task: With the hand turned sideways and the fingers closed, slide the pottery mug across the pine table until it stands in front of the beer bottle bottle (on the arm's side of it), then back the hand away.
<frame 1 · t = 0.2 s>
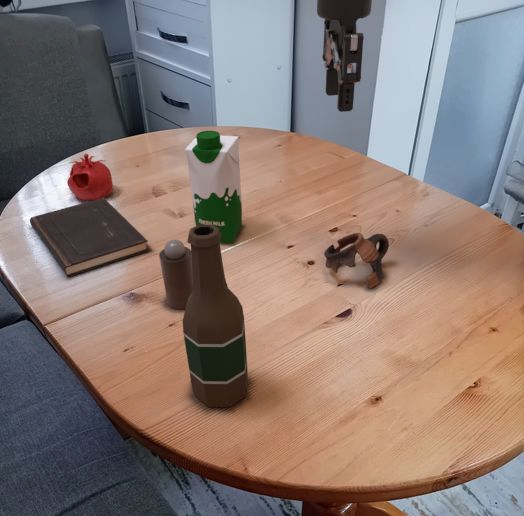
hand: (338, 102, 83), 26 cm above the table, tool pointing down, fingers open, 8 cm apart
milk carton: (220, 234, 107), on the table
pepper mill: (182, 300, 89), on the table
hardcover book: (88, 240, 106), on the table
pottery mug: (358, 273, 94), on the table
beer bottle: (221, 390, 73), on the table
pomegranate: (93, 195, 122), on the table
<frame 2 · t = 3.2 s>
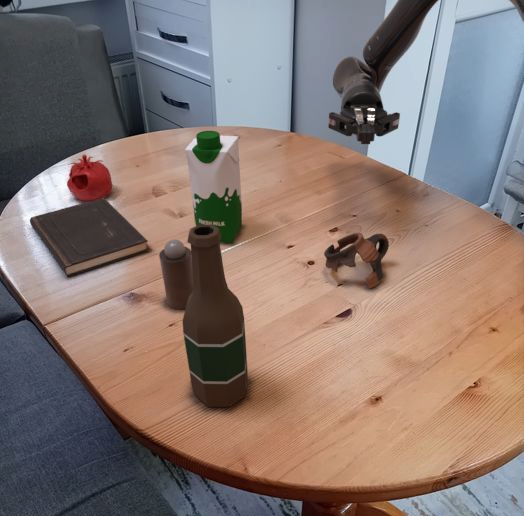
hand: (366, 138, 88), 20 cm above the table, tool horizontal, fingers closed
nothing on the table moved.
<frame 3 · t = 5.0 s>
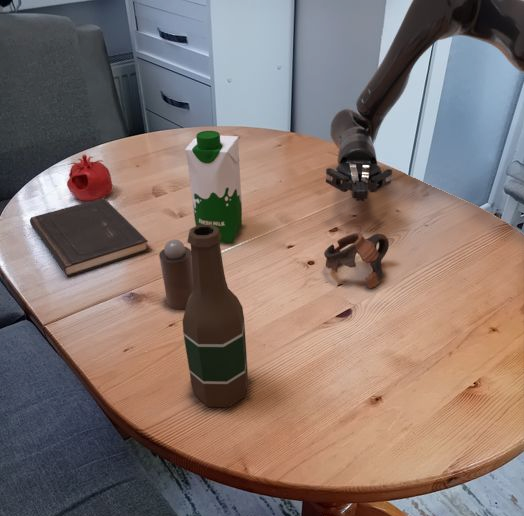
hand: (360, 196, 95), 10 cm above the table, tool horizontal, fingers closed
nothing on the table moved.
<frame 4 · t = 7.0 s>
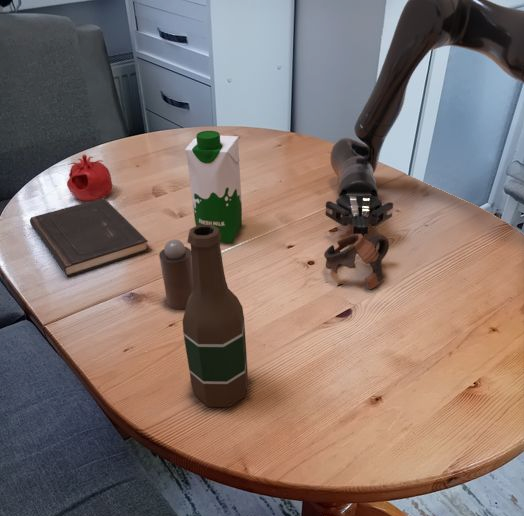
hand: (360, 231, 93), 6 cm above the table, tool horizontal, fingers closed
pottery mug: (358, 274, 94), on the table, touching gripper
everything else where it was.
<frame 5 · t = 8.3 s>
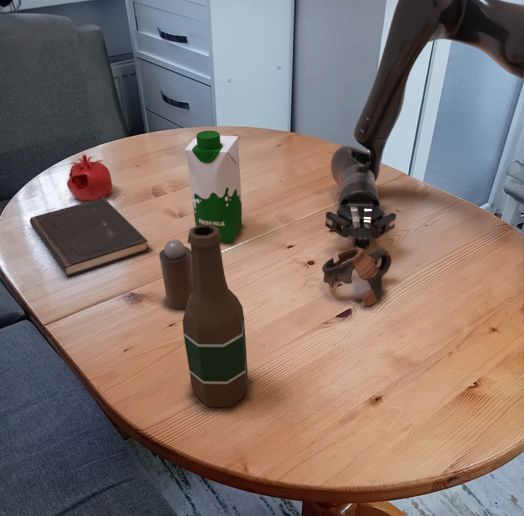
hand: (362, 244, 89), 6 cm above the table, tool horizontal, fingers closed
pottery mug: (357, 290, 91), on the table, touching gripper
everything else where it was.
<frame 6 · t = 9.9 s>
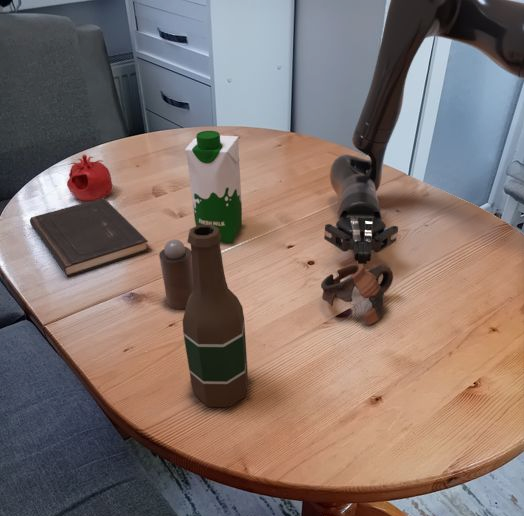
hand: (363, 259, 85), 7 cm above the table, tool horizontal, fingers closed
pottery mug: (358, 307, 87), on the table, touching gripper
everything else where it was.
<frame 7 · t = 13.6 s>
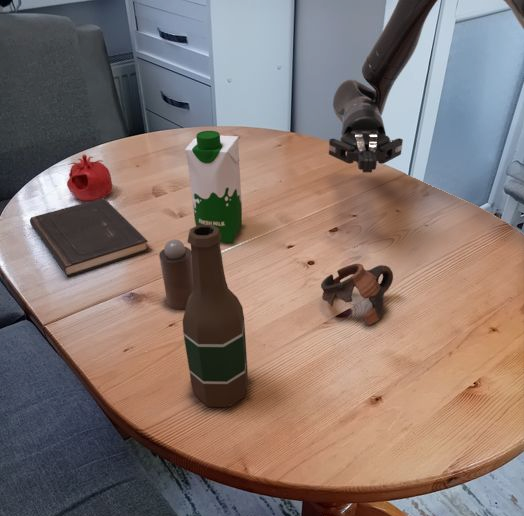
hand: (368, 166, 85), 18 cm above the table, tool horizontal, fingers closed
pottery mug: (358, 307, 87), on the table
everything else where it was.
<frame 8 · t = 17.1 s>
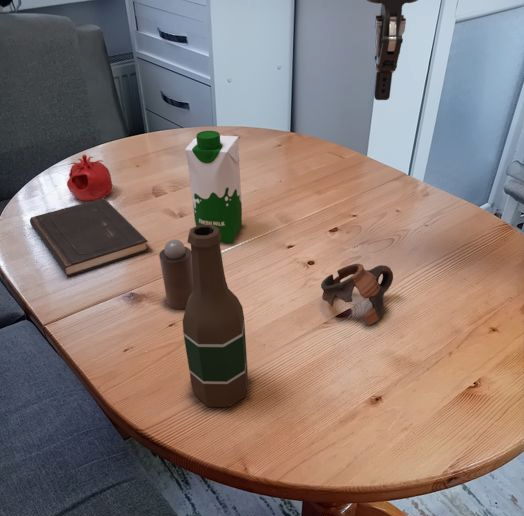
hand: (381, 98, 82), 27 cm above the table, tool pointing down, fingers closed
nothing on the table moved.
at the end: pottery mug moved 10.1 cm from its start; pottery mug tilted 0° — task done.
